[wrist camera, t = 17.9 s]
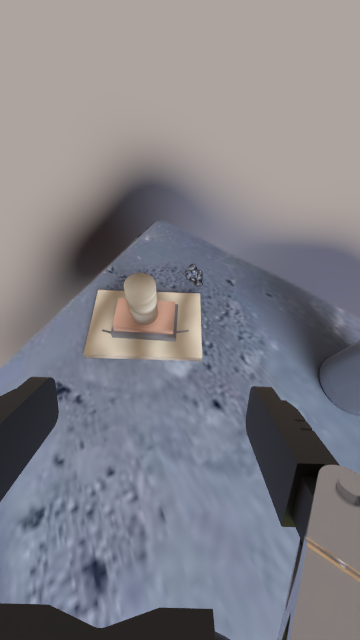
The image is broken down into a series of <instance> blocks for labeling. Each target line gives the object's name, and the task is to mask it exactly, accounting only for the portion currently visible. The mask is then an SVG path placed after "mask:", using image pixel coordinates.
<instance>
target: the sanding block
mask: <svg viewBox="0 0 360 640" xmlns="http://www.w3.org/2000/svg"><path fill="white" fill-rule="evenodd" d="M124 291H125V294H126V298H127V299H125V298H118V301H117V305H116V310H115V314H114V319H113V324H112V328H111V333H110V334H111V336H112V338H128V339H144V340H161V341H176V333H177V316H178V304H175V302H173V301H157V294H156V283H155V280H154V279H153V277H151V276H150V275H148V274H145V273H135V274H133V275H131V276H129V277H128V278H127V279H126V280H125V282H124Z"/></svg>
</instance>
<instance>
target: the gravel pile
mask: <svg viewBox="0 0 360 640" xmlns="http://www.w3.org/2000/svg"><path fill="white" fill-rule="evenodd" d="M185 275H186V278H187V279H188V280H190V282H194V285H196V286H202V285H203V283H202V275H203V273H202V271H198V270H197V267H196V266H195V264H192V265H190V267H189V268H188V269H187V271H186V273H185Z"/></svg>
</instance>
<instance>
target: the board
mask: <svg viewBox="0 0 360 640" xmlns="http://www.w3.org/2000/svg"><path fill="white" fill-rule="evenodd" d="M156 294H157V301H173V302H175V304H178V316H177V333H176V341H161V340H144V339H128V338H112V336H111V334H110V333H111V328H112V324H113V319H114V314H115V310H116V305H117V301H118V298H125V299H127V298H126V294H125V291H114V290H98V293H97V297H96V302H95V306H94V310H93V315H92V319H91V323H90V328H89V332H88V336H87V341H86V345H85V349H84V354H83V355H84V356H85V357H86V358H113V359H149V360H185V361H201V359H202V340H201V310H200V294H197V293H169V292H156Z"/></svg>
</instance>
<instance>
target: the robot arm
mask: <svg viewBox="0 0 360 640" xmlns="http://www.w3.org/2000/svg"><path fill="white" fill-rule="evenodd" d="M319 377H320V383H321V385H322V388H323V390H324V392H325V393H326V395H327V396H328V397H329V399H330V400H331V401H332V402H333V403H334V404H335V405H337V406H338V407H339V408H341V409H342V410H344V411H346V412H349V413H351V414H356V415H360V340H359V341H357V342H356V343H354V344H352V345H350V346H349V347H347V348H345V349H343V350H341V351H339V352H338V353H336V354H334V355H332V356H330V357H329V358H327V359H326V360H325V361H324V362H323V363H322V365H321V368H320V373H319ZM58 413H59V410H58V401H57V393H56V385H55V380H54V379H53V378H50V377H31V378H29V379H28V380H27V381H25V382H24V383H23V384H22V385H21V386H19V387H18V388H17V389H14V390H12V391H10V392H8V393H6V394H4V395H2V396H0V501H1V500H2V499H3V497H4V496H5V494H6V493H7V492H8V490H9V489H10V487H11V486H12V485H13V483H14V482H15V481H16V479H17V478H18V476H19V475H20V474H21V472H22V471H23V469H24V468H25V467H26V465H27V464H28V462H29V461H30V460H31V458H32V457H33V456H34V454H35V453H36V451H37V450H38V449H39V447H40V446H41V444H42V443H43V442H44V440H45V439H46V437H47V436H48V435H49V433H50V432H51V431H52V429H53V428H54V426H55V424H56V422H57V419H58ZM246 430H247V435H248V438H249V440H250V443H251V446H252V448H253V451H254V454H255V456H256V459H257V462H258V464H259V467H260V470H261V472H262V475H263V478H264V480H265V483H266V486H267V488H268V491H269V494H270V497H271V499H272V502H273V505H274V507H275V510H276V513H277V515H278V518H279V521H280V523H281V526H282V527H296V529H297V532H298V534H299V536H300V540H299V544H298V548H297V553H296V557H295V562H294V567H293V571H292V576H291V581H290V585H289V590H288V595H287V599H286V604H285V609H284V613H283V618H282V622H281V627H280V631H279V635H278V639H277V640H360V475H359V474H358V473H356V472H354V471H352V470H350V469H348V468H345V467H342V466H340V465H339V464H338V463H337V461H336V460H335V459H334V457H333V456H332V455H331V453H330V452H329V451H328V449H327V448H326V447H325V445H324V444H323V443H322V441H321V440H320V439H319V437H318V436H317V435H316V433H315V432H314V431H312V428H311V427H310V425H309V424H308V423H307V422H306V421H305V419H304V417H303V416H302V415H301V413H300V412H299V411H298V409H296V408H295V407H294V406H292V405H291V404H290V403H288V402H287V401H284V400H280V398H279V397H278V395H277V394H276V392H275V391H274V389H273V388H272V387H255V386H253V387H252V388H251V390H250V395H249V402H248V408H247V415H246ZM0 640H230V639H228V638H227V637H225V636H223V635H221V634H219V633H217V632H215V629H214V618H213V609H190V608H157V609H155V610H152V611H149V612H146V613H144V614H141V615H138V616H135V617H133V618H130V619H127V620H124V621H122V622H119V623H116V624H113V625H111V626H108V627H105V628H96V627H93V626H91V625H89V624H87V623H85V622H83V621H81V620H79V619H77V618H75V617H73V616H71V615H69V614H67V613H65V612H63V611H61V610H59V609H56V608H54V607H52V606H50V605H39V604H2V603H0Z"/></svg>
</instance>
